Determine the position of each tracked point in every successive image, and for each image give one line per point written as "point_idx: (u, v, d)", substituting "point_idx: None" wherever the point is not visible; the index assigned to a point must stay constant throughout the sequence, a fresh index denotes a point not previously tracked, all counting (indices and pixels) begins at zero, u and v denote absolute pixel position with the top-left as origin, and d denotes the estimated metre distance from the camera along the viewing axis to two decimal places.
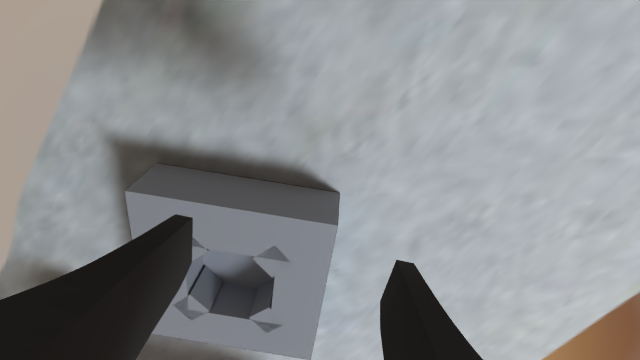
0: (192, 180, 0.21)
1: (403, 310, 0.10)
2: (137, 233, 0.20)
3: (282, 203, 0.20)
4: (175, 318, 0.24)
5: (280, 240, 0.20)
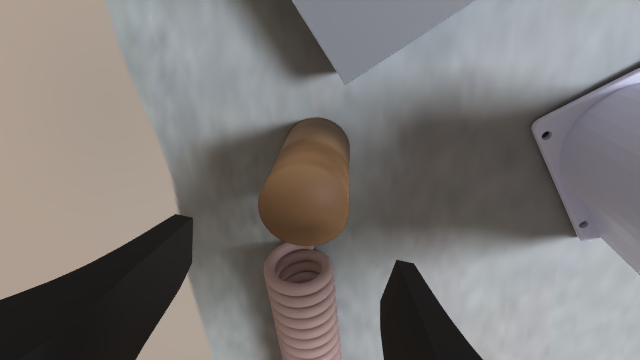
0: None
1: (403, 310, 0.10)
2: None
3: None
4: (365, 14, 0.14)
5: None
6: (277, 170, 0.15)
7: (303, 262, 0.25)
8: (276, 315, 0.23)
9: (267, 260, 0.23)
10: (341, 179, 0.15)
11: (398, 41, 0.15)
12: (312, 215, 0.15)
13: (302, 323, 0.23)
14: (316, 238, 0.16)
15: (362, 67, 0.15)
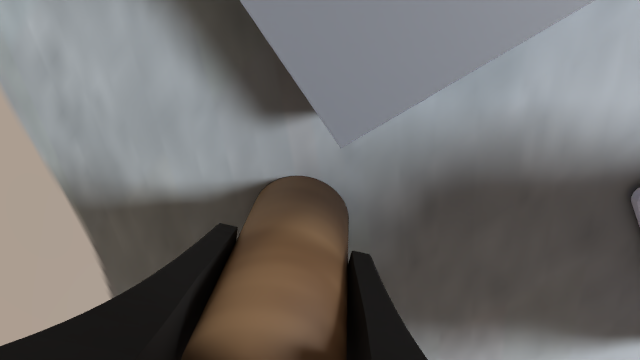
0: None
1: (352, 300, 0.10)
2: None
3: None
4: (378, 23, 0.07)
5: None
6: (213, 313, 0.08)
7: None
8: None
9: None
10: (333, 324, 0.08)
11: (440, 74, 0.08)
12: None
13: None
14: None
15: (372, 119, 0.08)
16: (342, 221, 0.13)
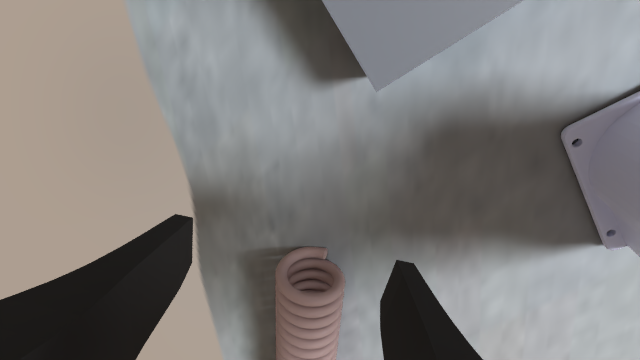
0: None
1: (403, 310, 0.10)
2: None
3: None
4: (400, 19, 0.14)
5: None
6: None
7: (312, 270, 0.25)
8: (282, 322, 0.23)
9: (279, 265, 0.23)
10: None
11: (433, 47, 0.14)
12: None
13: (308, 333, 0.22)
14: None
15: (395, 73, 0.15)
16: None
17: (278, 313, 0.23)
